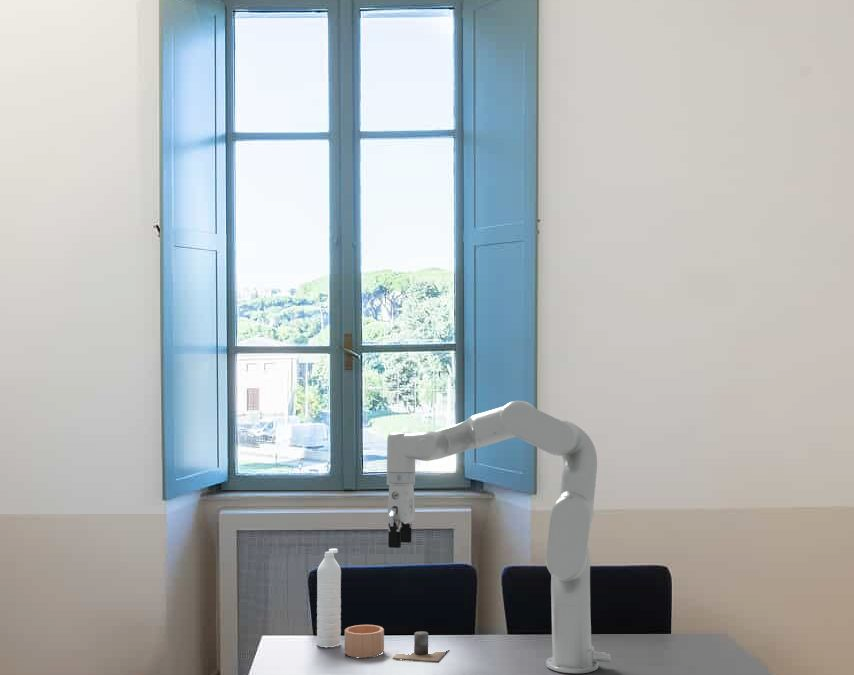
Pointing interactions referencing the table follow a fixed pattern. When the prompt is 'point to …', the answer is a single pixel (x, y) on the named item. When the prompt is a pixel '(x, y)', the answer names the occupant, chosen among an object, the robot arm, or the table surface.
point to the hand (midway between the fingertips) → (400, 544)
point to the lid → (421, 650)
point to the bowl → (364, 641)
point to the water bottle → (329, 601)
